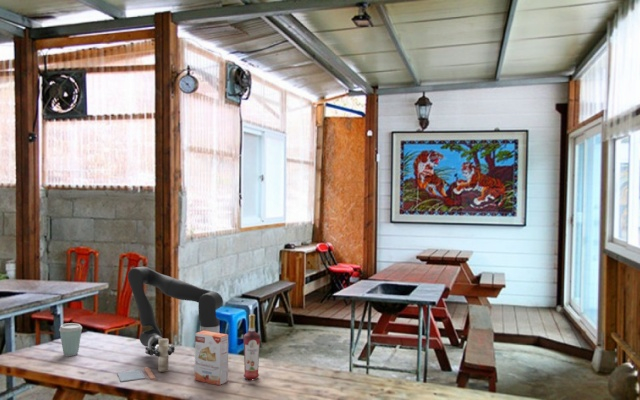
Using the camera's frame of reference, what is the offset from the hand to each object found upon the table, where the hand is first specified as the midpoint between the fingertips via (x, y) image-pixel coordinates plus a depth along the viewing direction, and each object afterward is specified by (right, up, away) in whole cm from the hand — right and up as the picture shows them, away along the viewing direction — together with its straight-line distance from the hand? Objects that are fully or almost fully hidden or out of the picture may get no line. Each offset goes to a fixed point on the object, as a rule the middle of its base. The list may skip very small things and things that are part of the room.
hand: (164, 353), depth 241 cm
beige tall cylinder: (-1, -8, +2) cm, 8 cm away
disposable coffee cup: (-56, -8, +27) cm, 63 cm away
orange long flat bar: (-7, -9, -1) cm, 11 cm away
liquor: (+40, -9, -6) cm, 42 cm away
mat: (-14, -9, -5) cm, 17 cm away
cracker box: (+23, -9, -10) cm, 27 cm away
